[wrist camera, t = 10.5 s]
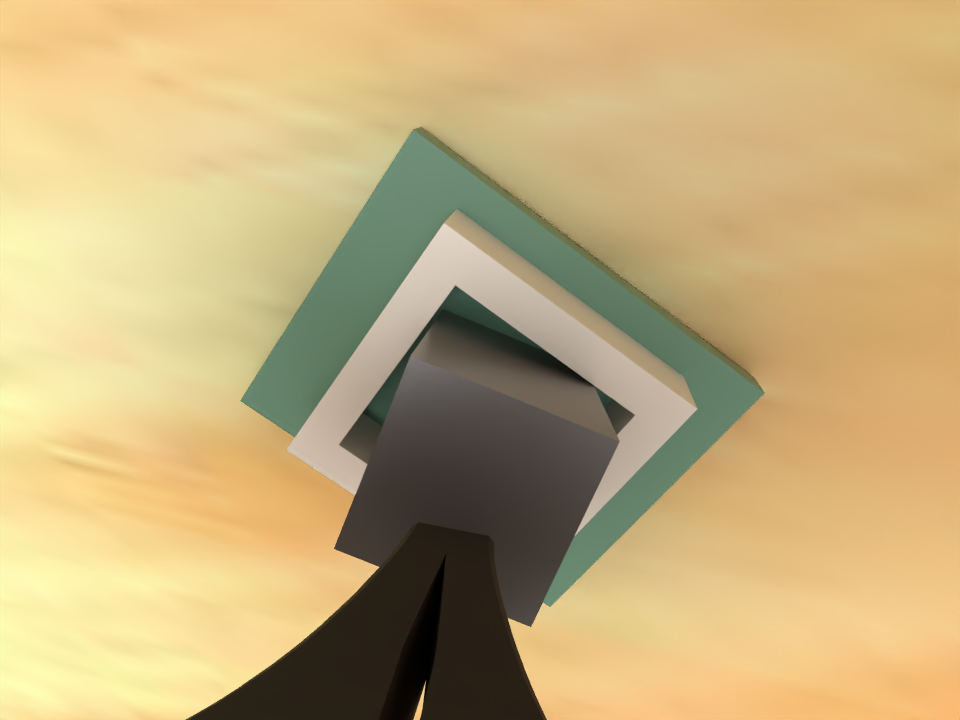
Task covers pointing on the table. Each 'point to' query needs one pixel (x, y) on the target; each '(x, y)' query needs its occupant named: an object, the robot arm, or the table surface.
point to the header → (532, 311)
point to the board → (488, 324)
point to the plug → (485, 456)
